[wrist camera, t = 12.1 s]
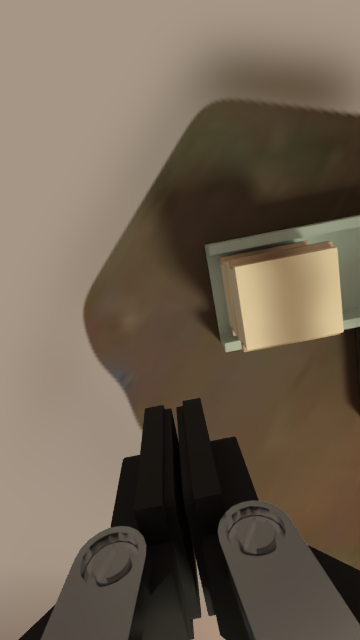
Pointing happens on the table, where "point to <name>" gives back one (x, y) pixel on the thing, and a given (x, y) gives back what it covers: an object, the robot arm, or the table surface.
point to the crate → (283, 294)
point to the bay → (346, 233)
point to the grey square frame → (358, 350)
